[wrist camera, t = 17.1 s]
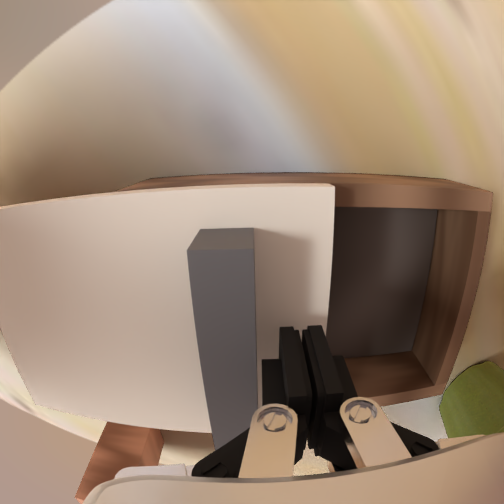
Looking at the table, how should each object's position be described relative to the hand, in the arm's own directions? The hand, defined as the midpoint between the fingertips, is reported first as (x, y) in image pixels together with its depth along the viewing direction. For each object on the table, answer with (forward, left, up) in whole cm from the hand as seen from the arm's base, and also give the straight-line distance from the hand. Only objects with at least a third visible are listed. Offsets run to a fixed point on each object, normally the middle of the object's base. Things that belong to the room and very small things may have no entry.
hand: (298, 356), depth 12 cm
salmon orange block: (-12, -15, -8) cm, 21 cm away
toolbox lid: (-8, 0, -2) cm, 8 cm away
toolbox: (+1, 0, -8) cm, 8 cm away
